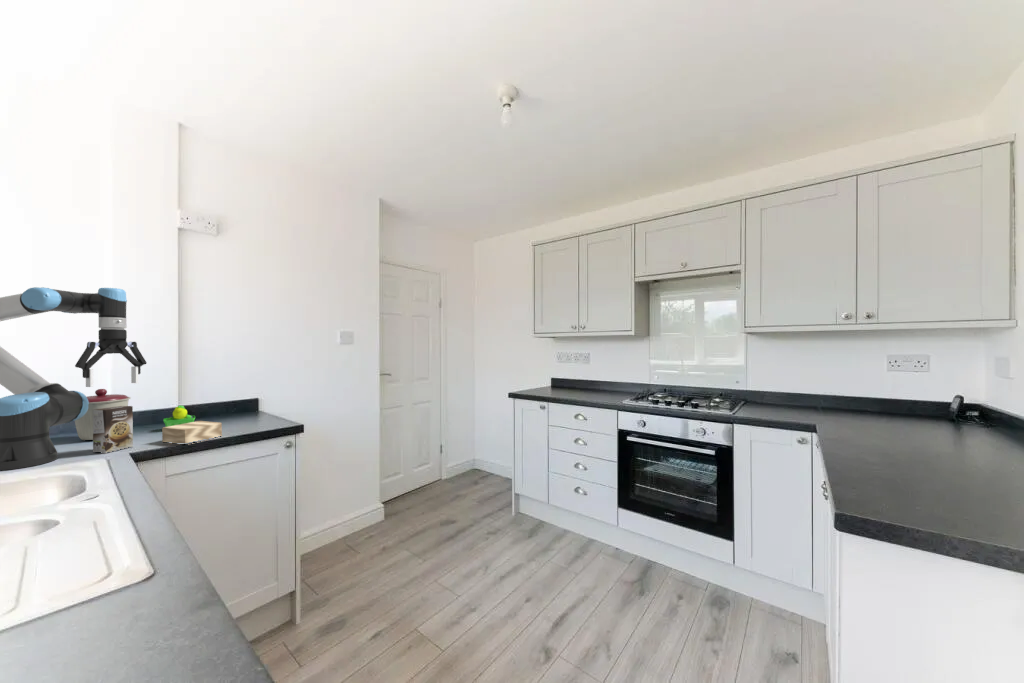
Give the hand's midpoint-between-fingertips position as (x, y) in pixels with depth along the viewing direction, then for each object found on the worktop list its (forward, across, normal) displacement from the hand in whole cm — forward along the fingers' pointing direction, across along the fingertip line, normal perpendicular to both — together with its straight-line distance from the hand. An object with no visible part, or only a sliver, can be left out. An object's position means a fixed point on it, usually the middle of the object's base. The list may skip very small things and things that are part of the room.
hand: (113, 385), depth 150 cm
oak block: (+24, +19, -14) cm, 34 cm away
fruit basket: (+25, +32, +15) cm, 43 cm away
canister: (+25, +11, +29) cm, 40 cm away
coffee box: (+25, 0, -1) cm, 25 cm away
